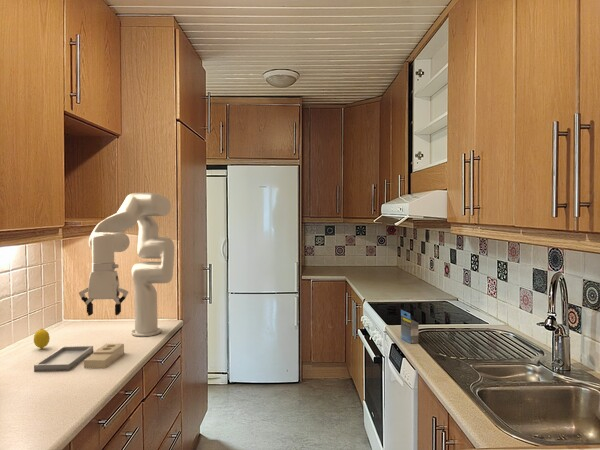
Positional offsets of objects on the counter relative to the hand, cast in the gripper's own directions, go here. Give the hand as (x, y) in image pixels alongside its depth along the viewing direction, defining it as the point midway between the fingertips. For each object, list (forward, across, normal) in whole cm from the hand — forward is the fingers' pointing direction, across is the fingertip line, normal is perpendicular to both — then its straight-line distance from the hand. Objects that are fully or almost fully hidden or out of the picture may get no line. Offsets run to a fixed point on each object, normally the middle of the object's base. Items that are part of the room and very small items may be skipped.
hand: (104, 314), depth 181 cm
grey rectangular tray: (+17, +14, 0) cm, 22 cm away
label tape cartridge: (+16, -117, -19) cm, 120 cm away
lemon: (+17, +30, -17) cm, 38 cm away
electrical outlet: (+17, 0, 0) cm, 17 cm away
